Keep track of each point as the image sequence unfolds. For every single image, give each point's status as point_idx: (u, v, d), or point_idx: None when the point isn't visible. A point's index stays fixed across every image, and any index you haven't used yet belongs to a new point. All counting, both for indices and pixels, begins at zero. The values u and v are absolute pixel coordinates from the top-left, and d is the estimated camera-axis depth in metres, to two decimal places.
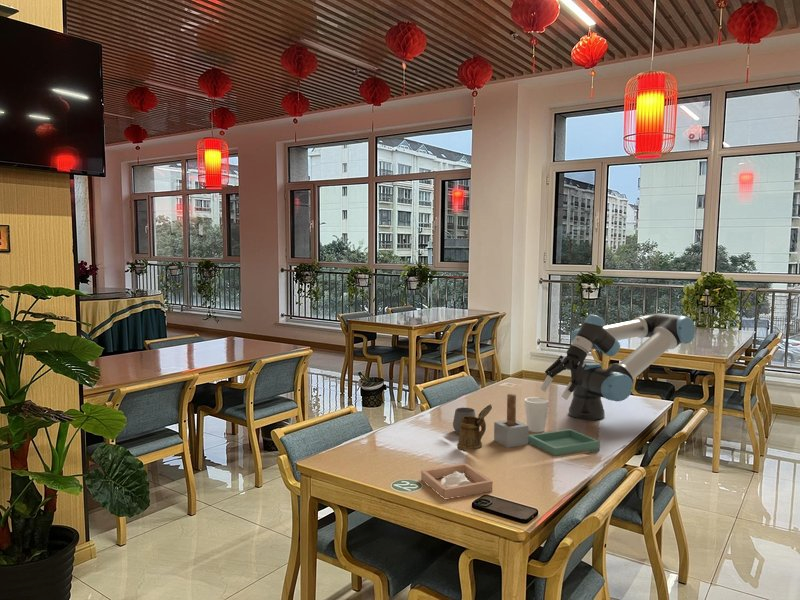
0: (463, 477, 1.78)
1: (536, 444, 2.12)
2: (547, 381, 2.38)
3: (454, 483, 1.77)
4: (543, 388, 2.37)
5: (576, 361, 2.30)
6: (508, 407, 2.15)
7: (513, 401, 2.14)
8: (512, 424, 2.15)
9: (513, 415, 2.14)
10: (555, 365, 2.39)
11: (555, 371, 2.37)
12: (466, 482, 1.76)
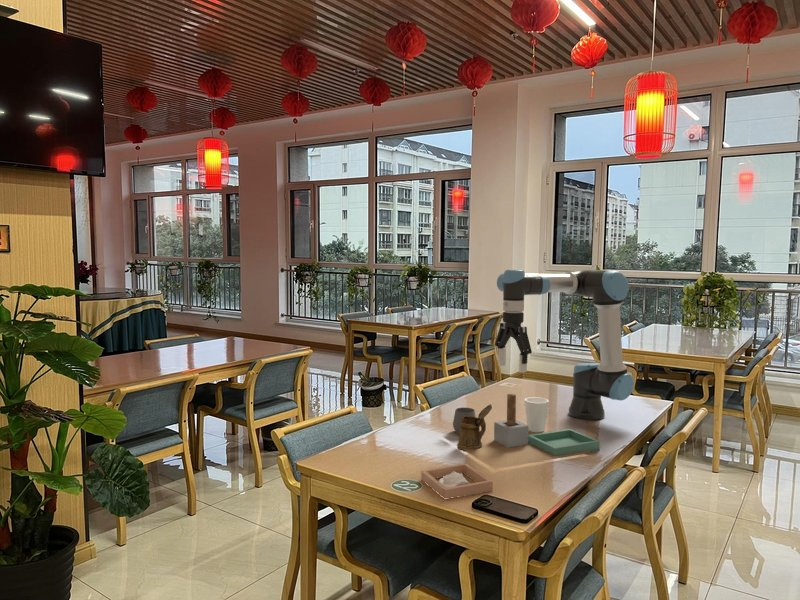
0: (461, 477, 1.78)
1: (536, 444, 2.12)
2: (501, 354, 2.20)
3: (452, 483, 1.77)
4: (501, 364, 2.20)
5: (516, 328, 2.10)
6: (508, 407, 2.15)
7: (513, 401, 2.14)
8: (512, 424, 2.15)
9: (513, 415, 2.14)
10: (500, 335, 2.20)
11: (503, 342, 2.18)
12: (464, 482, 1.76)
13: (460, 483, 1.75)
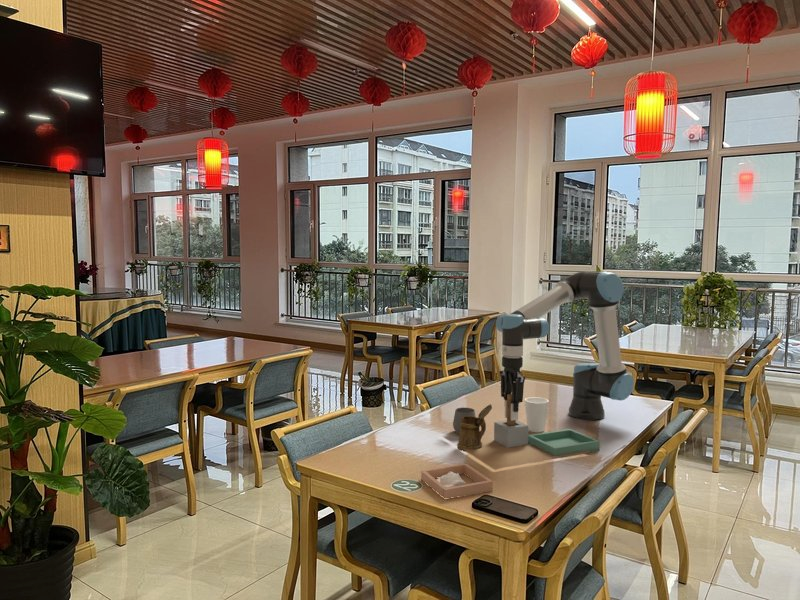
0: (458, 477, 1.78)
1: (536, 444, 2.12)
2: None
3: (449, 483, 1.76)
4: None
5: (515, 374, 2.11)
6: (508, 407, 2.15)
7: None
8: (512, 424, 2.15)
9: None
10: (503, 383, 2.19)
11: (508, 390, 2.17)
12: (461, 482, 1.76)
13: (457, 483, 1.75)
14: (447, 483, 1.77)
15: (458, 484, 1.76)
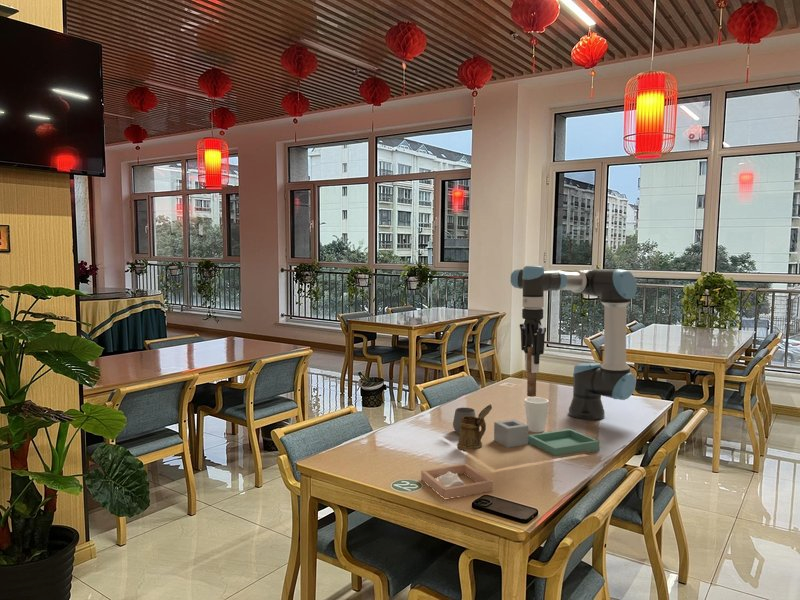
0: (456, 477, 1.78)
1: (536, 444, 2.12)
2: None
3: (447, 483, 1.76)
4: None
5: (535, 325, 2.08)
6: (529, 360, 2.12)
7: None
8: (533, 377, 2.12)
9: None
10: (524, 336, 2.16)
11: (528, 343, 2.14)
12: (459, 482, 1.76)
13: (455, 483, 1.75)
14: (445, 483, 1.77)
15: (456, 484, 1.76)
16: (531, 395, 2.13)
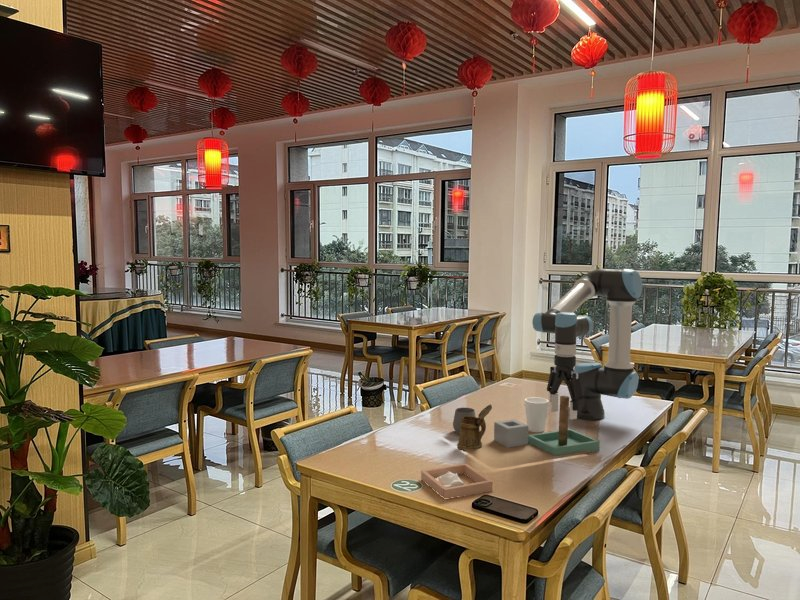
0: (456, 477, 1.78)
1: (536, 444, 2.12)
2: (554, 400, 2.17)
3: (447, 483, 1.76)
4: (554, 410, 2.17)
5: (568, 372, 2.08)
6: (561, 409, 2.12)
7: (566, 403, 2.11)
8: (565, 426, 2.12)
9: (566, 417, 2.11)
10: (552, 379, 2.17)
11: (556, 386, 2.16)
12: (459, 482, 1.76)
13: (455, 483, 1.75)
14: (445, 483, 1.77)
15: (456, 484, 1.76)
16: (563, 444, 2.12)
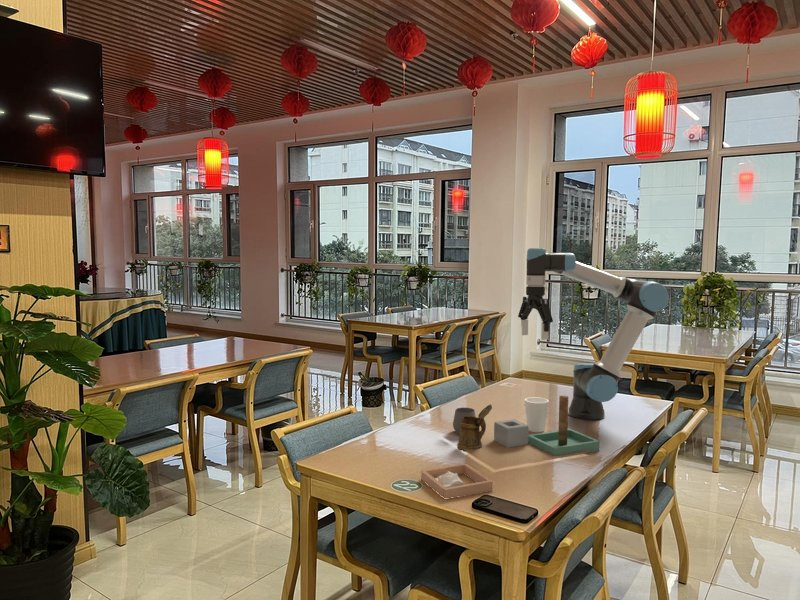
0: (456, 477, 1.78)
1: (536, 444, 2.12)
2: (524, 325, 2.45)
3: (447, 483, 1.77)
4: (524, 333, 2.45)
5: (538, 300, 2.34)
6: (560, 409, 2.12)
7: (566, 403, 2.11)
8: (564, 426, 2.12)
9: (565, 417, 2.12)
10: (523, 307, 2.44)
11: (526, 313, 2.43)
12: (459, 482, 1.76)
13: (454, 483, 1.75)
14: (445, 483, 1.77)
15: (456, 484, 1.76)
16: (562, 444, 2.12)
